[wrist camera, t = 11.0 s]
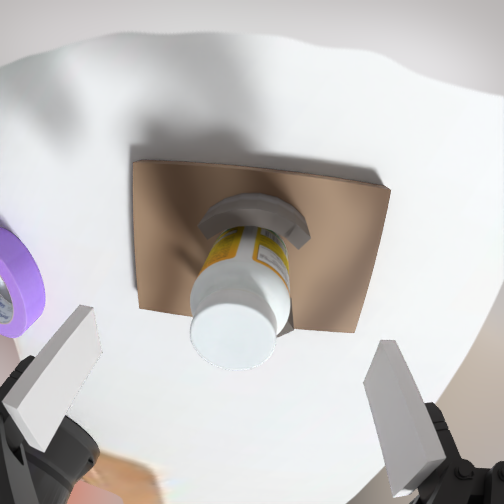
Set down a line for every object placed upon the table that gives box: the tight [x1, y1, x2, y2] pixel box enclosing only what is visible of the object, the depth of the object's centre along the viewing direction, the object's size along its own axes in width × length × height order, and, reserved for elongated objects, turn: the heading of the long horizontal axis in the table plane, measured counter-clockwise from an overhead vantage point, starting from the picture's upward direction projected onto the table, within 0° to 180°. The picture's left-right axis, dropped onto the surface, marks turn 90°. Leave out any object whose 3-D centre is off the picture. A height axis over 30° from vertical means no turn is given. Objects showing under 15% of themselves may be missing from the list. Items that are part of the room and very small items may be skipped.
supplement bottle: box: [190, 226, 290, 371], centre depth 19 cm, size 5×5×10 cm
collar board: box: [133, 160, 391, 338], centre depth 22 cm, size 18×12×6 cm, turn 85°
